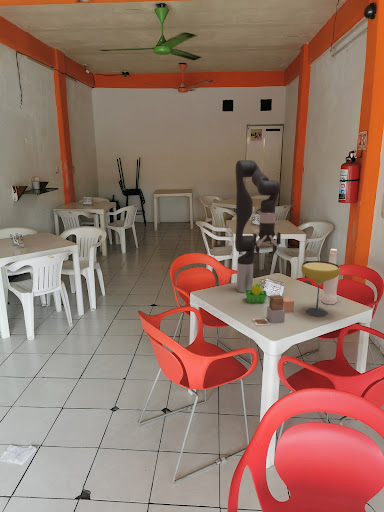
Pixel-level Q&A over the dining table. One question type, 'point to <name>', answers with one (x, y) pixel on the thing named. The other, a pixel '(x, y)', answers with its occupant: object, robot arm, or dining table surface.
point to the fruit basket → (256, 294)
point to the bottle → (330, 283)
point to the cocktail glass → (319, 279)
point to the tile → (261, 322)
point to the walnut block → (276, 302)
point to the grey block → (275, 315)
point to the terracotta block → (288, 305)
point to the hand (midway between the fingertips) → (265, 252)
